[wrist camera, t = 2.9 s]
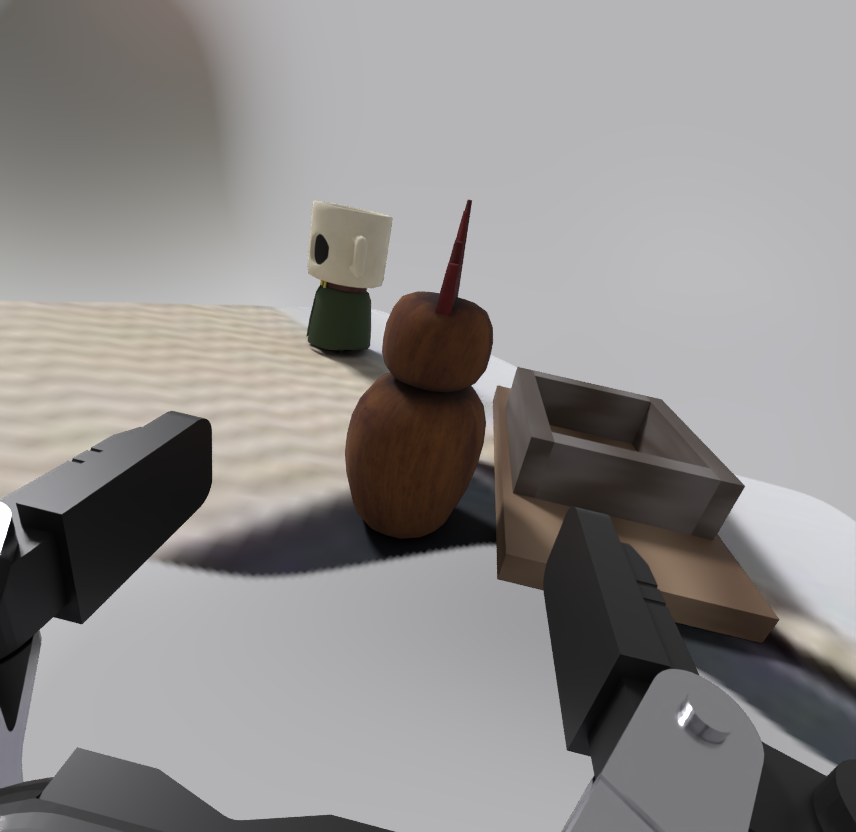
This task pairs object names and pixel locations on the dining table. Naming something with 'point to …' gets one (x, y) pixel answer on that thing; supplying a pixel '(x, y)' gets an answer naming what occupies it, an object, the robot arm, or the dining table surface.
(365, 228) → the character mug
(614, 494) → the socket stand
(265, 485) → the dining table surface
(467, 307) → the wooden figurine
